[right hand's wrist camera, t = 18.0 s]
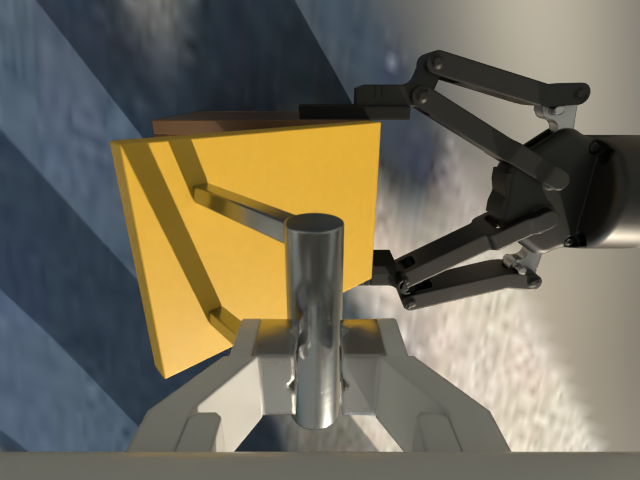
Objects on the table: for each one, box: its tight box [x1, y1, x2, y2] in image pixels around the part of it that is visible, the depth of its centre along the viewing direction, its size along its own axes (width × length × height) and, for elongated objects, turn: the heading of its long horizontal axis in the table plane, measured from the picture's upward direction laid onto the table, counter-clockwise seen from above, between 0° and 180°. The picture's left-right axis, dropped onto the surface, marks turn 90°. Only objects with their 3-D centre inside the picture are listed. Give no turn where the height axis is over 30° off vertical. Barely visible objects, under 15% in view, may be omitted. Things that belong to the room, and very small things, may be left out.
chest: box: [152, 111, 372, 137], centre depth 27 cm, size 12×10×9 cm
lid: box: [110, 121, 381, 430], centre depth 16 cm, size 13×10×8 cm
